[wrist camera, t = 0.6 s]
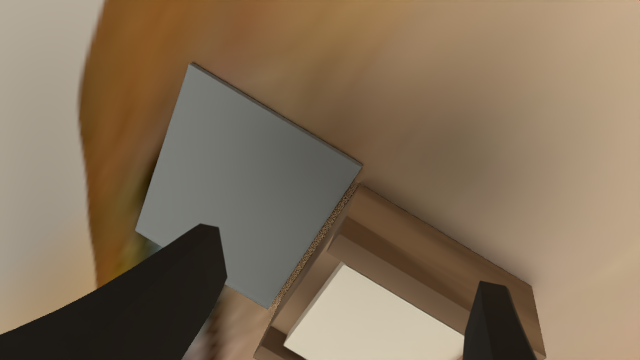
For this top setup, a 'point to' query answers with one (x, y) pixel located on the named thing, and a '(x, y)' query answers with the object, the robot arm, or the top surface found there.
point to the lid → (369, 324)
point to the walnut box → (397, 271)
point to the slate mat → (243, 183)
